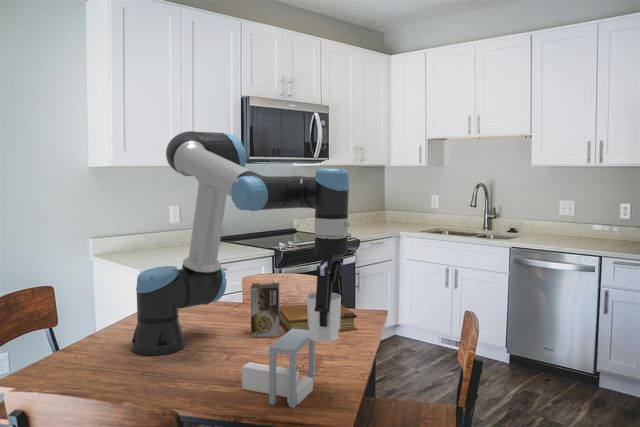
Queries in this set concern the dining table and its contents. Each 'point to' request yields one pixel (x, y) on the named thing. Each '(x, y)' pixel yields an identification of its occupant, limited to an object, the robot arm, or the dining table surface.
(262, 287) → the food box
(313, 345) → the bridge
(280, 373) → the white l-shaped block
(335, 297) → the white cup
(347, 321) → the diary
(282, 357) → the dining table surface
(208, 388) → the dining table surface
